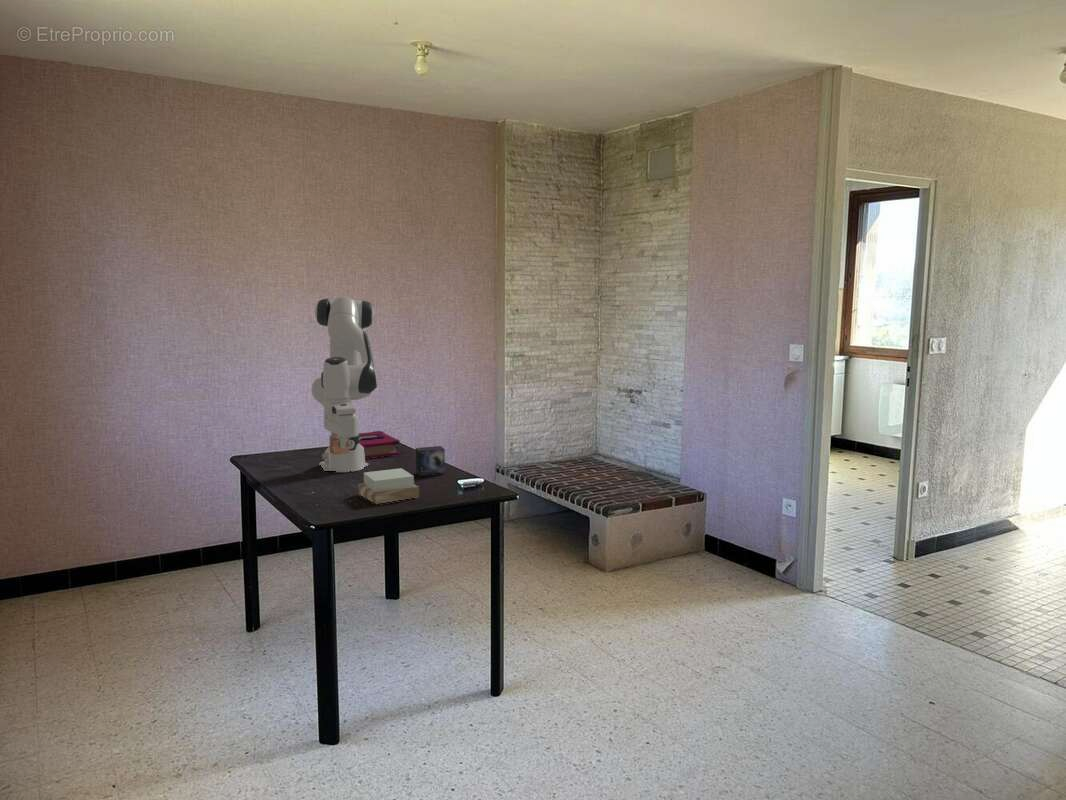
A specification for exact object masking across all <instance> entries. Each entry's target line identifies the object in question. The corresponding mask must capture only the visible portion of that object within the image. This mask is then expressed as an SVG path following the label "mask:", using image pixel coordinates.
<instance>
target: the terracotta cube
mask: <svg viewBox="0 0 1066 800" xmlns="http://www.w3.org/2000/svg"><path fill="white" fill-rule="evenodd" d="M328 439H329V441H328V442H329V443H328V444H329V445H330V453H332V454H334V455H338V454H346V453H349V438H347V441H346V448H343V449H342V448H340V447H339V443H340V437H332V438H330V437H329V438H328Z"/></svg>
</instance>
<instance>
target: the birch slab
mask: <svg viewBox="0 0 1066 800" xmlns="http://www.w3.org/2000/svg"><path fill="white" fill-rule="evenodd" d="M357 488H358V496H360V495H361V496H363V497H365V498H366V499H365V498H364V499H365V500H367V499H368V500H370V501H372V502H374V503H375V504H379V503H386V502H392V501H397V502H399V501H398V500H403V501H405V500H404V499H409V500H411V499H410V498H415V499H419V498H420V487H419V485H416V484H414V487H413V488H405V489H397V490H390V491H382V492H374V491H373V490H371V489H370V488H369V487H368V486H366V485H365V484H364V483H359V484H358V487H357ZM361 496H360V497H361ZM363 497H362V498H363ZM418 497H419V498H418ZM368 500H367V501H368ZM370 501H369V502H370ZM372 502H371V503H372ZM374 503H373V504H374ZM392 503H393V502H392ZM375 504H374V505H375ZM386 504H387V503H386Z"/></svg>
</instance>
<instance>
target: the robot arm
mask: <svg viewBox="0 0 1066 800" xmlns="http://www.w3.org/2000/svg"><path fill="white" fill-rule="evenodd" d="M314 316H315V318H316V322H317V323H318V324H319V326H320V325H321V326H324V327H327V333H328V336H329V342H330V343H329V357H328V358H326V359H325V360H324V363H323V370H322V372H321V375H320V376H321V377H318V378H315V379H314V381H313V382H312V386H311V395H312V396H313V397H312V398H314V399H315V401H316V402H318V403H319V404H320V405H322V407H323V409H324V410H323V427H324V429H325V430H326V431H328V432H330V436H329V438H332V437H340V443H339V447H340V448H342V449H343V448H346V441H347V438H349V453H346V454H338V455H334V454H332V453H330V444H329V445H328V447H327V448H326V450H325V451H324V453H322V454H321V459H322V460H324V461H321V462H319V466H320V465H321V467H322V468H323V470H324V471H336V472H335V473H351V472H357V471H361V470H363V469H364V467H365V468H366V466H367V467H369V466H368V465H369V462H366V459H365V455H364V448H363V446H361V445H360V434H359V432H360V431H359V429H360V427H359V417H358V415H357V414H356V407H355V405H354V404H353V402H352V401H357V400H358V401H359V400H361V399H365V398H367V397H370V395H372V392H373V391H375V390H376V389H377V386H378V384H379V376H378V372H377V370H376V368H375V364H374V363H375V362H374V359H373V358H374V357H373V353H372V348H371V343H370V340H369V336H368V334H367V331H364V329H367V328H369V327H370V326H372V323H373V322H374V320H375V309H374V307H373V304H372V303H371V302H369V301H367V300H357V299H352V298H350V297H348V296H340V297H337V298H333V299H332V298H330V299H329V298H323V299H320V300H319V301H318V302H317V304H316V306H315V309H314ZM359 354H360V355H359ZM359 356H360V358H359ZM360 359H361V364H360ZM321 467H320V468H321ZM322 468H321V469H322ZM323 470H322V471H323ZM324 471H323V472H324ZM350 471H351V472H350Z"/></svg>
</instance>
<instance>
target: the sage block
mask: <svg viewBox="0 0 1066 800" xmlns="http://www.w3.org/2000/svg"><path fill="white" fill-rule="evenodd" d="M363 484H365V485H366V486H368V487H369V488H370V489H371V490H373V491H374V492H382V491H390V490H397V489H405V488H413V487H414V485H415V476H414V475H413V474H411V473H410V472H408V471H406V470H405V469H404V468H401V467H399V468H391V469H385V470H384V469H382V470H375V471H368V472H367V471H366V472H363Z"/></svg>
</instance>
